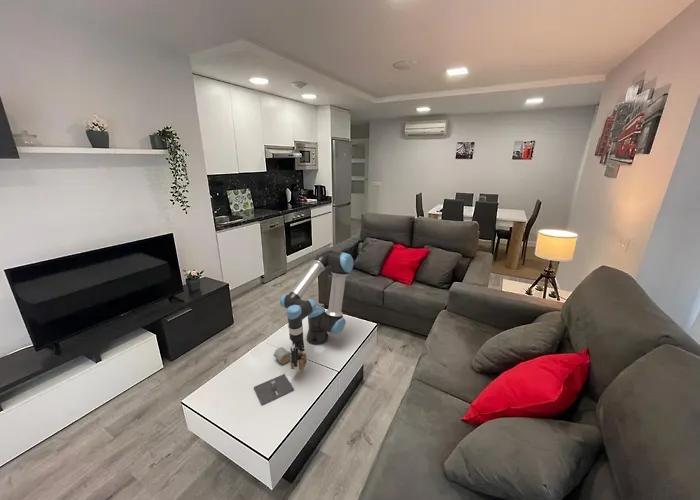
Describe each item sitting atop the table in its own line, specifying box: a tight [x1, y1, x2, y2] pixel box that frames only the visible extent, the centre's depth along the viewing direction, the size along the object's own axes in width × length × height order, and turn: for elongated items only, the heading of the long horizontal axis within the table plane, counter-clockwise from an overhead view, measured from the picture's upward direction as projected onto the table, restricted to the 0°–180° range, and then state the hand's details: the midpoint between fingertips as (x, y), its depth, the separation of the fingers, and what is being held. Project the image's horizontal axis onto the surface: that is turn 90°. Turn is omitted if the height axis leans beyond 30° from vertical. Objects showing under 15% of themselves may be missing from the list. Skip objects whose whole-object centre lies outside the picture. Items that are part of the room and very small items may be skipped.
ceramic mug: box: [273, 346, 291, 365], centre depth 182 cm, size 11×8×8 cm
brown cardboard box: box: [289, 352, 308, 372], centre depth 167 cm, size 7×7×6 cm
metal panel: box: [253, 373, 295, 406], centre depth 159 cm, size 18×14×5 cm
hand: (299, 365), depth 168 cm, fingers closed on brown cardboard box, 7 cm apart
